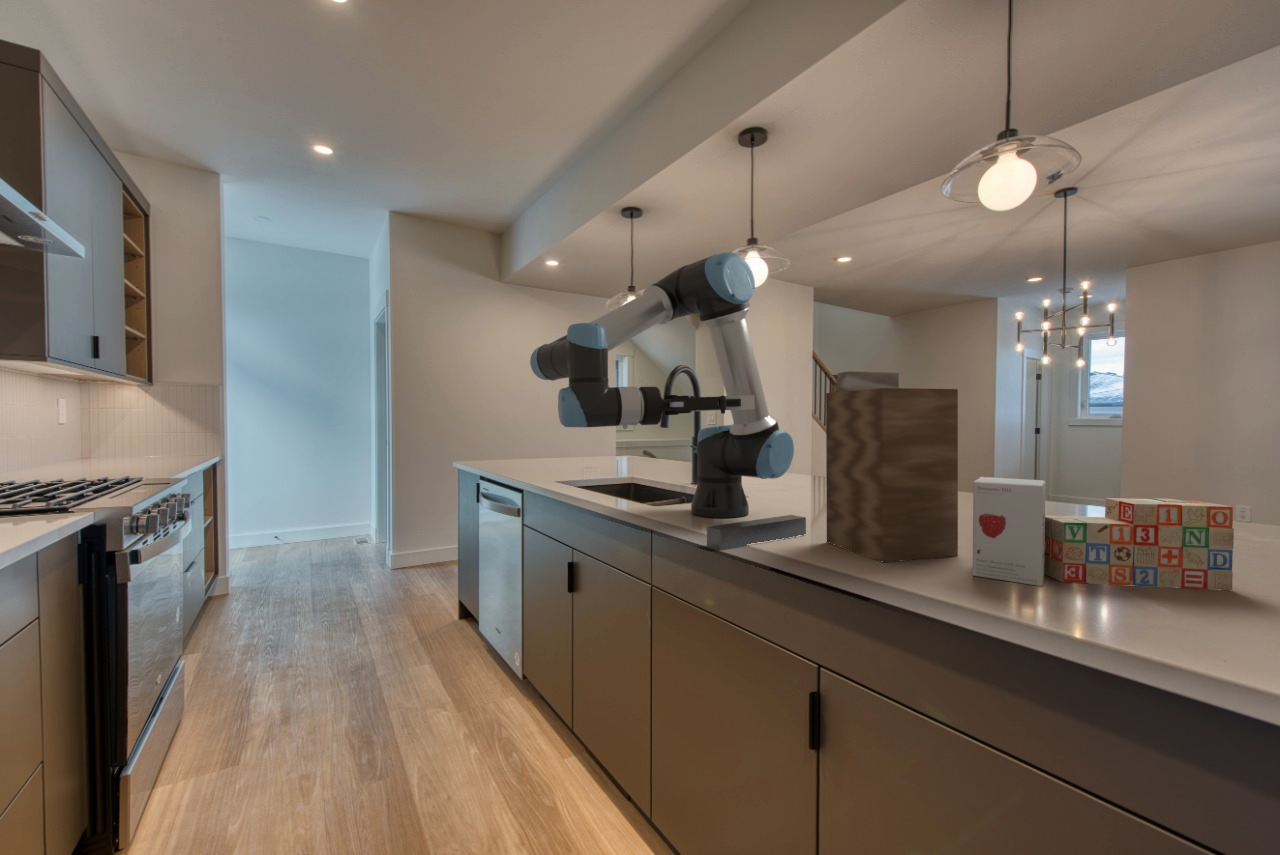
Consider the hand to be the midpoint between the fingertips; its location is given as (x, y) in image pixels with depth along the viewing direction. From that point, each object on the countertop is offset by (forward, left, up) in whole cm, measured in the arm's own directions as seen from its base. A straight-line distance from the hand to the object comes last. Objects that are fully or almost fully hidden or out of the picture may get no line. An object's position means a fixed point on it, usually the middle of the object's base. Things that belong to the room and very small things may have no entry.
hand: (737, 403), depth 109 cm
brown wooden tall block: (+16, +24, -28) cm, 40 cm away
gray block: (+4, +4, -26) cm, 27 cm away
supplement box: (+35, +29, -28) cm, 54 cm away
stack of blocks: (+43, +44, -29) cm, 68 cm away
